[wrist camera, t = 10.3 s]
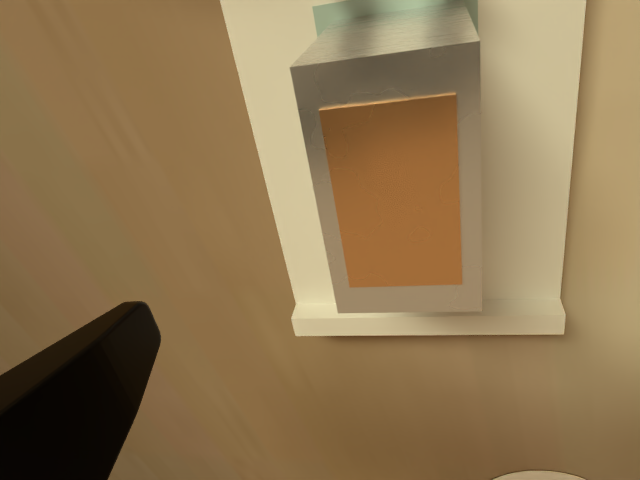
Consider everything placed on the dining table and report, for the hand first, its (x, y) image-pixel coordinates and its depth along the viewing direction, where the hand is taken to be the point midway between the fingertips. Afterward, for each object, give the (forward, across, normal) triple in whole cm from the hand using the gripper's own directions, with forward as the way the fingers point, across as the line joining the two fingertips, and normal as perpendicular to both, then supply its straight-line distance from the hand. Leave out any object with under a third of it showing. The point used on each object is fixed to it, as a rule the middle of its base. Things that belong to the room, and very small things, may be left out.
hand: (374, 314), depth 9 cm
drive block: (+10, 0, 0) cm, 10 cm away
